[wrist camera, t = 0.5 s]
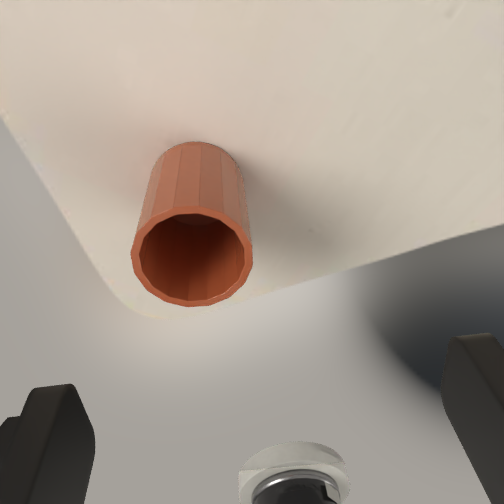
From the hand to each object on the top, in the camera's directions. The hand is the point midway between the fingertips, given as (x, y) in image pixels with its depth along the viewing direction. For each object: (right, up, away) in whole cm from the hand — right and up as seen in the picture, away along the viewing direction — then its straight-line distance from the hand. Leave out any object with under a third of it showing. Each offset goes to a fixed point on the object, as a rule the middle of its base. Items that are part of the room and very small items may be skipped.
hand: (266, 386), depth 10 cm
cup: (-4, +7, +20) cm, 21 cm away
